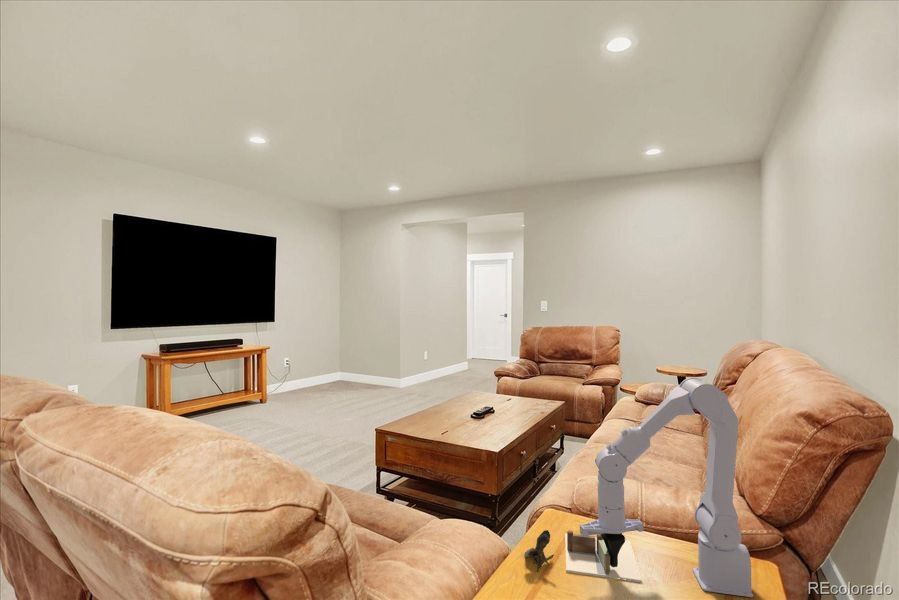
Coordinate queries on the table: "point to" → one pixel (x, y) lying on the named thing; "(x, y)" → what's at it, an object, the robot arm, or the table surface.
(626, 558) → the card
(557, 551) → the table surface
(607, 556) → the fence panel
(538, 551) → the eagle figurine
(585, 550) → the fence
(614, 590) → the table surface
